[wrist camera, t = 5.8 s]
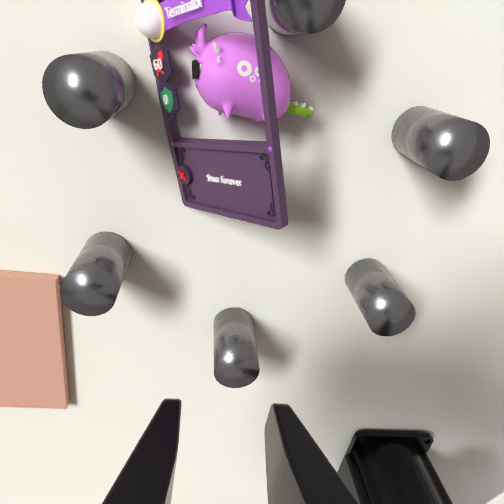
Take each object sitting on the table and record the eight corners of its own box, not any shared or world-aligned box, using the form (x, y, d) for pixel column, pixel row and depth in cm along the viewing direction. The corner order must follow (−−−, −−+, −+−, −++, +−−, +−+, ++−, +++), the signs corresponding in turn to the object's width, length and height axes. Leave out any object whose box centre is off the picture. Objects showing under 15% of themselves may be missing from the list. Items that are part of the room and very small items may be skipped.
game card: (171, 210, 19) (119, -3, 15) (246, 180, 22) (219, -4, 18) (269, 237, 15) (231, -57, 11) (346, 195, 18) (339, -46, 14)
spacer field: (484, 8, 17) (556, 0, 13) (357, 346, 26) (380, 394, 22) (70, -84, 14) (24, -124, 11) (88, 329, 23) (66, 380, 20)
